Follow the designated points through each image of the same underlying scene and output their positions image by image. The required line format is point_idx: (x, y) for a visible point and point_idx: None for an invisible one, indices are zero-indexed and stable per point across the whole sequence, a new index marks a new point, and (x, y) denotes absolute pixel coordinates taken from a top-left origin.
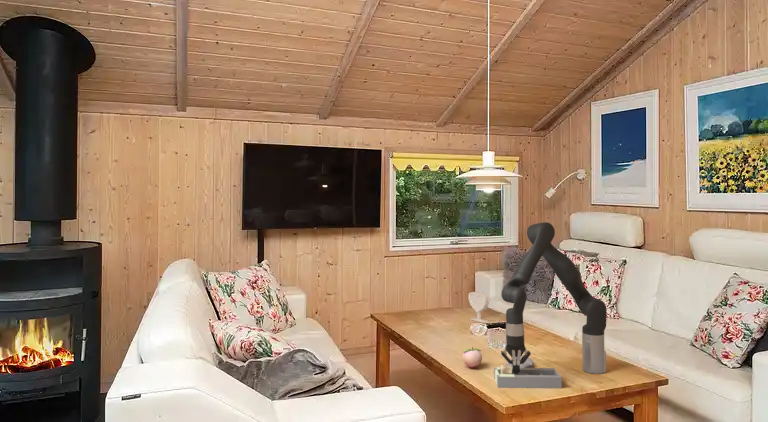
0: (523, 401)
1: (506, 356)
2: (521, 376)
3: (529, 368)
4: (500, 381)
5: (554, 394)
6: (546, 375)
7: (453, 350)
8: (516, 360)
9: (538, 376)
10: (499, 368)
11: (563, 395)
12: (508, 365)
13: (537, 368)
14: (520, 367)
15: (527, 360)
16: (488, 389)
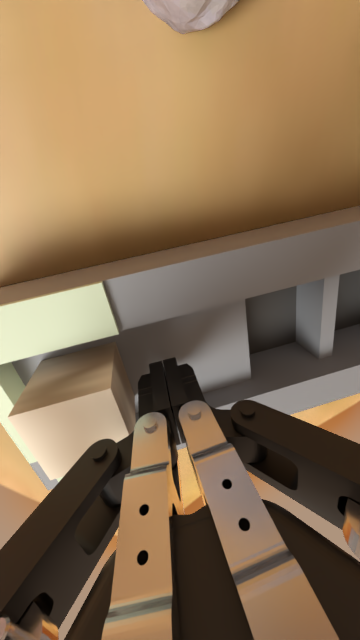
0: (191, 501)
1: (62, 612)
2: None
3: (278, 253)
4: None
5: (314, 412)
6: (355, 368)
7: None
8: (189, 445)
9: (304, 398)
10: (2, 349)
11: (343, 409)
12: (95, 405)
13: (343, 236)
14: (188, 12)
15: None
16: (21, 463)
